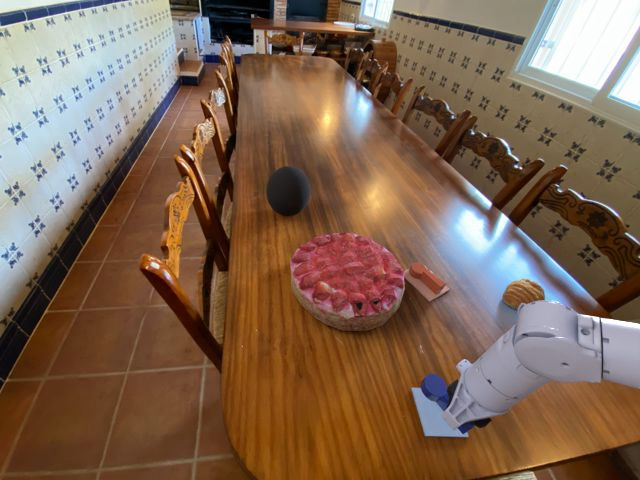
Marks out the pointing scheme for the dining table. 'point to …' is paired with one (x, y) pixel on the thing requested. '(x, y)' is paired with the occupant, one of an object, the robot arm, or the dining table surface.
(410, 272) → the terracotta spoon
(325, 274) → the cake
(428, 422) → the blue mat
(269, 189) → the decorative egg
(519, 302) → the pastry
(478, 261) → the dining table surface
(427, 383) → the blue spoon
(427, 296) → the rose mat
